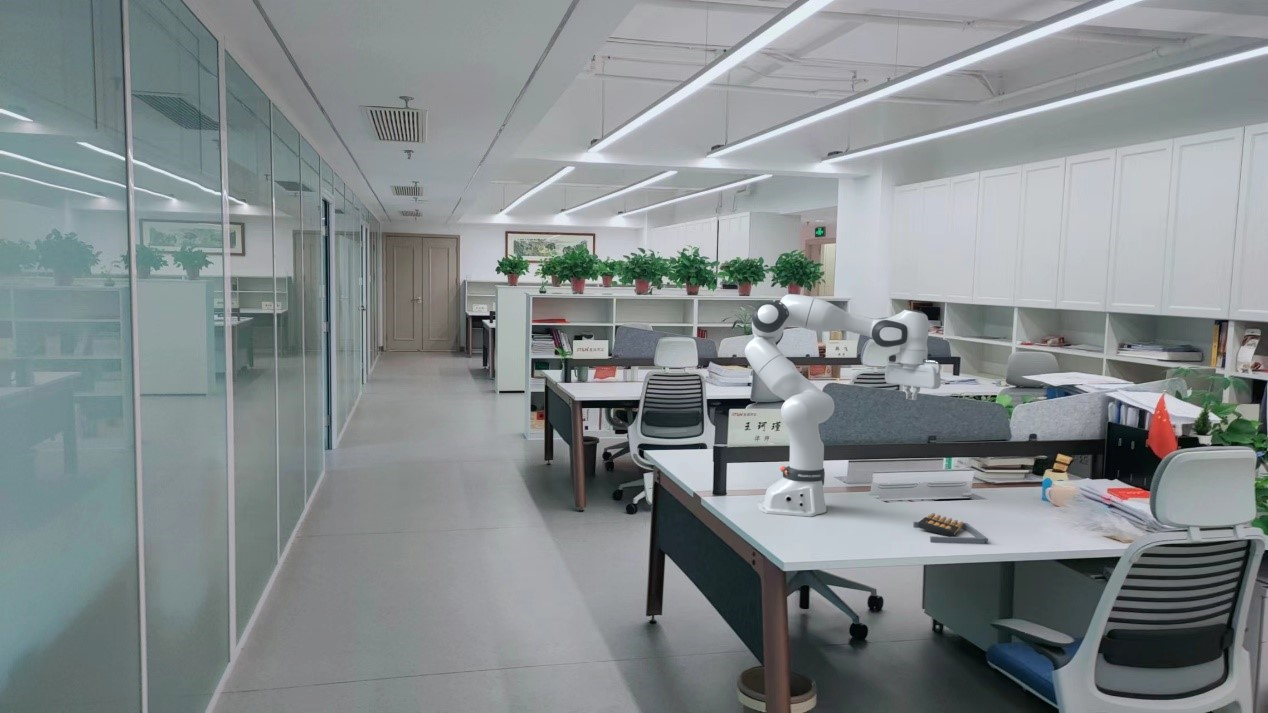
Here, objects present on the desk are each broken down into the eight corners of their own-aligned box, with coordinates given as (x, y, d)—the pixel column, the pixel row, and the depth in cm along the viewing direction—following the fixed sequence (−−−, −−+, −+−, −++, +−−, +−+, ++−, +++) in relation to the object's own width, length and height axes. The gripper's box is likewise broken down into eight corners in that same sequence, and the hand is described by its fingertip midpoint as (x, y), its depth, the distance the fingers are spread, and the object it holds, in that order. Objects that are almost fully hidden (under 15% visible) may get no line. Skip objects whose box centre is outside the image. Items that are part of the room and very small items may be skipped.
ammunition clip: (953, 538, 257) (965, 525, 266) (954, 532, 256) (966, 520, 265) (917, 527, 263) (931, 515, 272) (918, 521, 262) (932, 510, 272)
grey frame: (930, 543, 251) (931, 537, 251) (913, 527, 268) (913, 521, 268) (987, 544, 250) (988, 538, 250) (966, 528, 267) (966, 522, 267)
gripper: (946, 360, 279) (943, 402, 280) (895, 355, 296) (893, 395, 297) (933, 361, 276) (931, 404, 277) (882, 356, 293) (881, 396, 294)
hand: (911, 399), depth 287 cm, fingers closed
